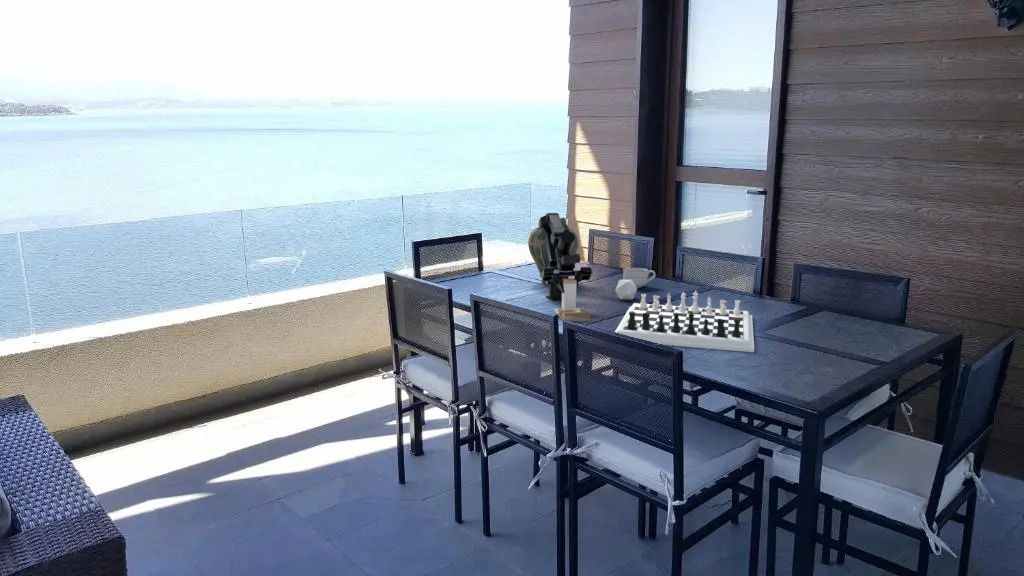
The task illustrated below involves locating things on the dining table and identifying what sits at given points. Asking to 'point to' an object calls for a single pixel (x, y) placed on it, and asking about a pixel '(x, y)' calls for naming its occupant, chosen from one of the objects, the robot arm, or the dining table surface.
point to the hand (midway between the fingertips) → (569, 292)
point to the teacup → (637, 276)
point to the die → (626, 289)
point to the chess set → (689, 325)
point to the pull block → (569, 294)
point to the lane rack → (574, 314)
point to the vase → (545, 247)
